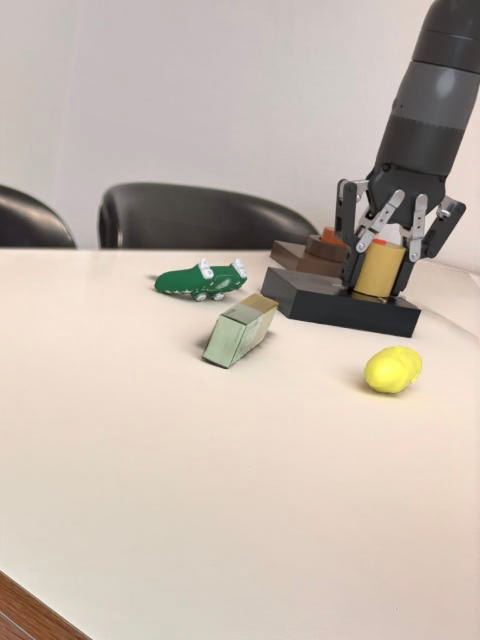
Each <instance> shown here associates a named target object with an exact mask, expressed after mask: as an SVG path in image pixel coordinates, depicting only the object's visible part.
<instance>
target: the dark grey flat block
mask: <svg viewBox="0 0 480 640" xmlns="http://www.w3.org/2000/svg"><path fill="white" fill-rule="evenodd" d="M259 293H260V294H259V295H263V296H264V297H266V298H269V299H271V300H273V301H275V302H278V303H279V304H278V307H277V309H276V310H278V311H279V312H281V313H282V314H283V315H284V317H286V318H287V319H289V320H297V321H302V322H308V323H309V322H310V323H315V324H322V325H328V326H333V327H340V328H345V329H346V328H347V329H351V330H352V329H353V330H357V331H358V330H359V331H364V332H365V331H367V332H371V333H378V334H384V335H389V336H390V335H391V336H396V337H403V338H408V339H412V338H413V335H414V332H415V330H416V327H417V323H418V321H419V319H420V316H421V313H422V309H421V308H420V307H418V306H416V305H415V304H413V303H412V302H410V301H409V300H407V299H406V298H407V297H406V296H405V295H400V294H399V295H398V296H397V297H396V296H390V295H389V297H376V296H371V295H367V294H363V293H360V292H357V291H355V290H353V289H348V288H346V287H344V286H343V285H342V280H341V279H339V278H333V277H327V276H321V275H316V274H310V273H304V272H298V271H292V270H287V269H285V268H280V267H279V268H278V267H273V266H267V268H266V272H265V275H264V279H263V282H262V286H261V289H260V292H259Z"/></svg>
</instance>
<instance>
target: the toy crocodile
mask: <svg viewBox="0 0 480 640" xmlns="http://www.w3.org/2000/svg"><path fill="white" fill-rule="evenodd" d="M247 280H248V273H247V270H246V268H245V265H244V264H243V262H242V261H241V259H240V258H239V257H236V258H235V259H234V261H233V262H231V263H229V265H210V263H209V261H208V259H207V258H206V257H203V258H201V260H200V262H198V263H196V264H195V265H194V266H192V267H191V268H187V269H186V268H185V269H177V270H170V271H165V272H163V273H162V274H160V275H158V277H157V278H156V279H155V282H154V284H153V287H154V289H155V290H156V291H157V290H159V291H162V292H161V293H163V292H165V293H164V294H169V293H171V294H170V295H190V297H192V298H193V299H195V301H197V302H199V301H198V300H201V301H203V300H206V298H207V295H208V296H209V297H210V298H211V299H213V300H214V301H220V300H222V299H223V298H224V296H225V295H224V294H225V293H231V292H233V291H235V290H239V289H241V288H242V287H243V285H244V284H245V283H246V282H247ZM159 291H158V292H159Z"/></svg>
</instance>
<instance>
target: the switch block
mask: <svg viewBox="0 0 480 640" xmlns="http://www.w3.org/2000/svg"><path fill="white" fill-rule="evenodd" d="M321 236H322V234H310V235H309V236H308V238H307V240H306V244H298V243H294V242H293V243H292V242H286V241H282V240H274V241H273V243H272V247H271V250H270V254H269V258H271V260H273V261H275V262H276V263H277V264H279V265H280V266H281V267H283V269H286V270H292V271H298V272H304V273H310V274H316V275H321V276H327V277H333V278H339V279H340V275H339V274H340V271H341V267H342V265H343V261H344V258H345V255H346V252H347V246H342V245H337V244H333V243H329V242H325V241H323V240H321Z"/></svg>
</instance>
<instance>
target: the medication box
mask: <svg viewBox="0 0 480 640" xmlns="http://www.w3.org/2000/svg"><path fill="white" fill-rule="evenodd" d="M278 304H279V303H278V302H275V301H273V300H271V299H269V298H266V297H264V296H262V294H259V293H256V292H253V293H252V294H250V295H249V296H247V297H246V298H244V299H242V300H241V301H239V302H238V303H236V304H235V305H233V306H231V307H230V308H228V309H227V310H225V311H223V312H222V313H220V314H218V318H217V319H216V322H215V324H214V326H213V328H212V330H211V332H210V335H209V337H208V340H207V342H206V344H205V347H204V351H203V352H202V355H201V359H202V360H205V361H207V362H209V363H211V364H213V365H215V366H218V367H220V368H223V369H226V370H229V368H230V367H231V366H232V365H233V364H235V363H236V362H237V361H238V360H239V359H241V358H242V357H244V356H245V355H246V354H247V353H249V352H250V351H251V350H253V349H254V348H255V347H257V346H258V345H259V344H261V342H263V340H264V338H265V336H266V334H267V333H268V330H269V328H270V327H271V324H272V322H273V319H274V316H275V314H276V312H277V310H278V309H277V307H278Z"/></svg>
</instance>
